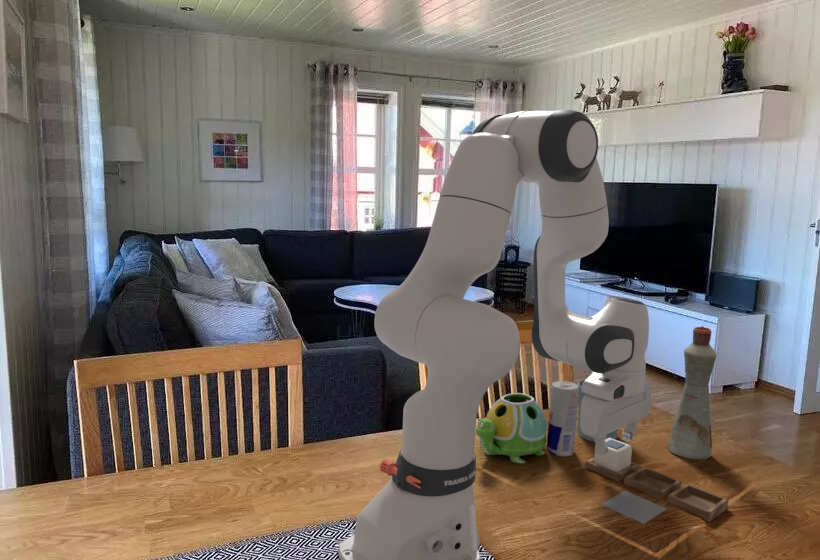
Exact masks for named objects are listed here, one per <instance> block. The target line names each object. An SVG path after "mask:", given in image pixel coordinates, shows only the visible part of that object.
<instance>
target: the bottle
mask: <svg viewBox="0 0 820 560" xmlns="http://www.w3.org/2000/svg"><path fill="white" fill-rule="evenodd" d="M711 338H712V330H711V328H708V327H704V326H703V325H702V326H697V327H694V328H693V329H692V342H691V344H689V345H688V346H686V347H685V349H684V350H683V357H684V373H685V375H684V377H685V378H684V379H685V382H684V386H683V389H682V394H681V398H680V401H679V405H678V408H677V410H676V414H675V419H674V422H673V424H672V428H671V431H670V434H669V436H668V437H669V438H668V440H667V447H668V448H667V449H668V450H669V451H670V452H671V453H672V454H674V455H676V456H678V457H680V458H684V459H688V460H689V459H690V460H695V461H697V460H698V461H701V460H708V459H709V458H710V457H711V456H712V453H713V439H712V438H713V437H712V423H711V408H710V407H711V406H710V404H711V403H710V385H709V384H710V381H711V376H712V374H713V370H714V367H715V362H716V361H717V360H716V359H717V353H716V351H715V349H714V348H713V347H712V346H711V344H710V343H711Z"/></svg>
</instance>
